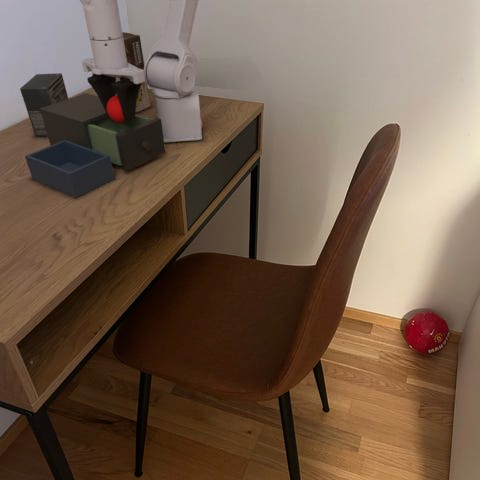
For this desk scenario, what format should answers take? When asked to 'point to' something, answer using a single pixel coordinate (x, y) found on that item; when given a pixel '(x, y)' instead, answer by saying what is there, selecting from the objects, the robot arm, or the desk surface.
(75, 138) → the cabinet
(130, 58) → the coffee box
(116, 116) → the ball
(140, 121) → the drawer
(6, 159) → the desk surface
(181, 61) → the robot arm
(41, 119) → the small box
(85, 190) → the box
